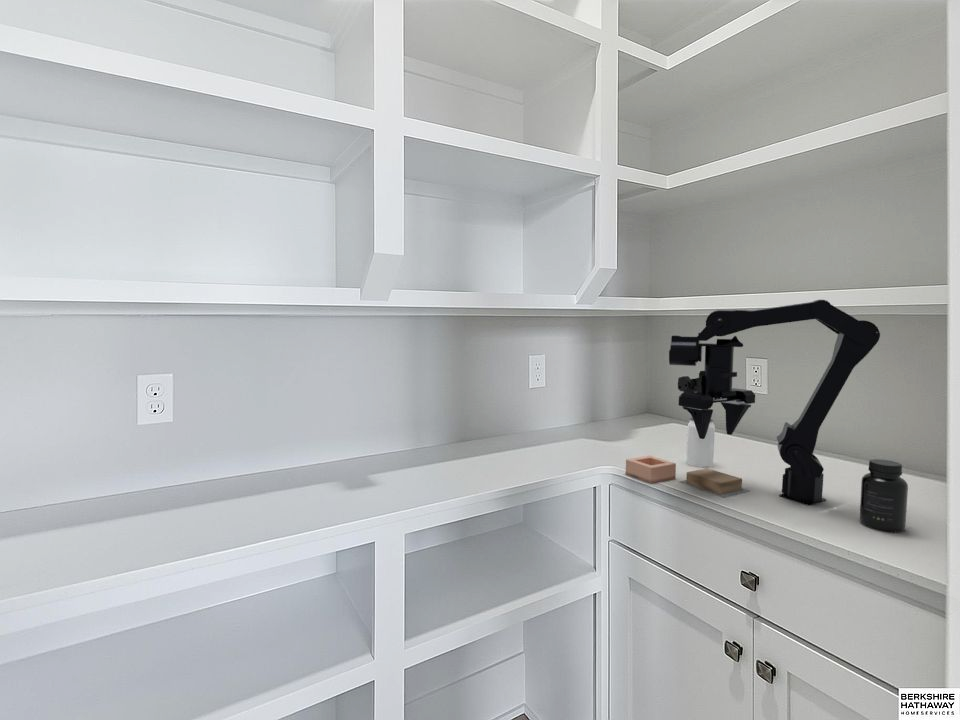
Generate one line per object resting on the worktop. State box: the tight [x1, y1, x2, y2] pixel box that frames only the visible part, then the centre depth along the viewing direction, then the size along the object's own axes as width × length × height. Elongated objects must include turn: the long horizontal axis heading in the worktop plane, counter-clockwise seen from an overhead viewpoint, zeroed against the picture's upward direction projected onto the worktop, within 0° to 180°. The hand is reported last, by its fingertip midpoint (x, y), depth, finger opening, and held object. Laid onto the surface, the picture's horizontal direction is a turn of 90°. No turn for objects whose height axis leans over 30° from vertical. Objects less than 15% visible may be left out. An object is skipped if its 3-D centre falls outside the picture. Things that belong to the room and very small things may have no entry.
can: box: [685, 417, 716, 468], centre depth 136 cm, size 6×6×12 cm
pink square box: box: [625, 455, 677, 485], centre depth 125 cm, size 8×8×4 cm
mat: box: [678, 479, 751, 499], centre depth 118 cm, size 12×9×1 cm
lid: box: [685, 467, 743, 495], centre depth 118 cm, size 9×7×2 cm
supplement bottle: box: [859, 458, 909, 533], centre depth 97 cm, size 7×7×12 cm
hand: (715, 436), depth 118 cm, fingers open, 9 cm apart
